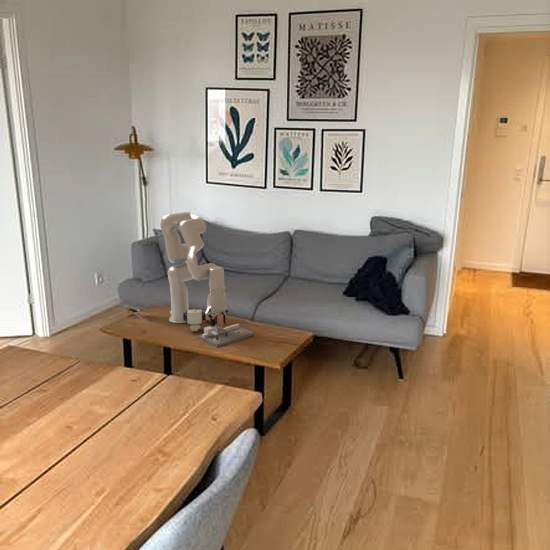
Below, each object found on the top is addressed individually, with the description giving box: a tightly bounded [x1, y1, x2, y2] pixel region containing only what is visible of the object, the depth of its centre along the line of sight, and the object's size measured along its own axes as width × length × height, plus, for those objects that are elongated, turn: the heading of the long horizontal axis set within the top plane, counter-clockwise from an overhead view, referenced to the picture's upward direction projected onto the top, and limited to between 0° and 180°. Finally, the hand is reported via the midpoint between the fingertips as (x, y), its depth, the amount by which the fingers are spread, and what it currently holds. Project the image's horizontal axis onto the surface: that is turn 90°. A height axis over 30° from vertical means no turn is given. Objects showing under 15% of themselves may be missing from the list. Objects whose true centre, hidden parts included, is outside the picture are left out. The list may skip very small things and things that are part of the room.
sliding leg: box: [212, 312, 227, 336], centre depth 279 cm, size 9×4×10 cm, turn 43°
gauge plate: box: [197, 323, 255, 348], centre depth 280 cm, size 16×24×6 cm, turn 133°
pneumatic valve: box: [183, 308, 207, 332], centre depth 289 cm, size 6×12×12 cm, turn 94°
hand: (218, 323), depth 281 cm, fingers open, 5 cm apart
